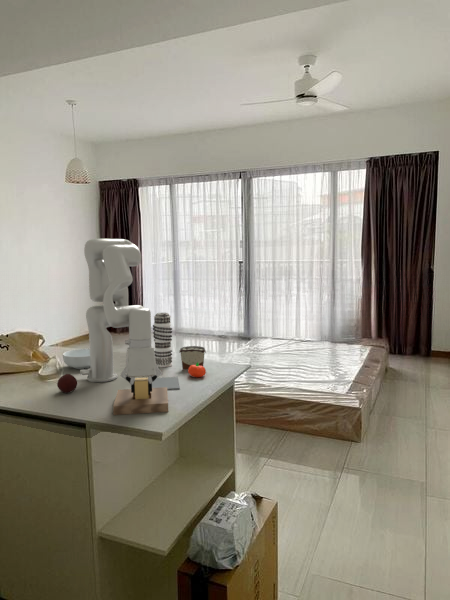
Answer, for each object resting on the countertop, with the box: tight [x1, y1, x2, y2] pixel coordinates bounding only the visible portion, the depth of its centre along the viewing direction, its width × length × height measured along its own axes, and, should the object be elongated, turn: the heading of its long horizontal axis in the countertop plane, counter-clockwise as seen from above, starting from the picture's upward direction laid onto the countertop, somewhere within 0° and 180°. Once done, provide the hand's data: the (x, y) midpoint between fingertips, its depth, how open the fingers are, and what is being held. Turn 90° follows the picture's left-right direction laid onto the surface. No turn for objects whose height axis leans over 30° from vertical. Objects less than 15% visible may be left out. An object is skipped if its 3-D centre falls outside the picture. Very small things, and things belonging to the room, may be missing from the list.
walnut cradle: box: [112, 387, 169, 416], centre depth 155 cm, size 18×18×3 cm
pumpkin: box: [187, 363, 207, 378], centre depth 190 cm, size 7×8×6 cm
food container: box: [178, 345, 207, 371], centre depth 203 cm, size 12×6×10 cm, turn 84°
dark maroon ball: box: [56, 373, 78, 394], centre depth 169 cm, size 7×8×7 cm
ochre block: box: [134, 377, 149, 399], centre depth 155 cm, size 4×4×9 cm
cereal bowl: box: [62, 348, 90, 370], centre depth 208 cm, size 17×17×7 cm
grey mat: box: [148, 376, 180, 391], centre depth 179 cm, size 16×16×1 cm
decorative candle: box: [152, 312, 173, 368], centre depth 209 cm, size 9×9×25 cm
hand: (141, 393), depth 155 cm, fingers closed on ochre block, 4 cm apart
